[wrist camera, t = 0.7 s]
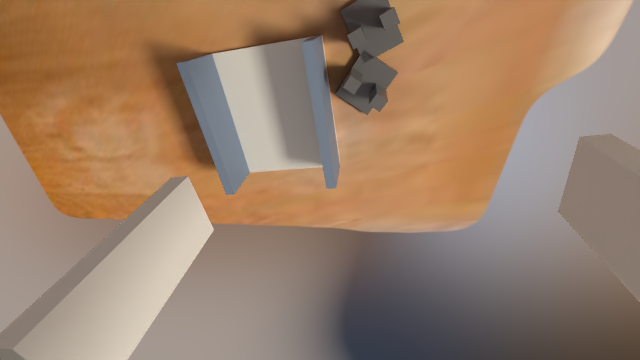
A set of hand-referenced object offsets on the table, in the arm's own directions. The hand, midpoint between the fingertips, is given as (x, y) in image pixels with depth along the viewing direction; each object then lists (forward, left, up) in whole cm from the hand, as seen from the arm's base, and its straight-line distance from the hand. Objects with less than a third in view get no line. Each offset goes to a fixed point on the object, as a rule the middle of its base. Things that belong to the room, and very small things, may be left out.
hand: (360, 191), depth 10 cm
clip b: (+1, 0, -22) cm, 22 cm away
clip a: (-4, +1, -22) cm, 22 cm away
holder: (+3, -10, -22) cm, 24 cm away
